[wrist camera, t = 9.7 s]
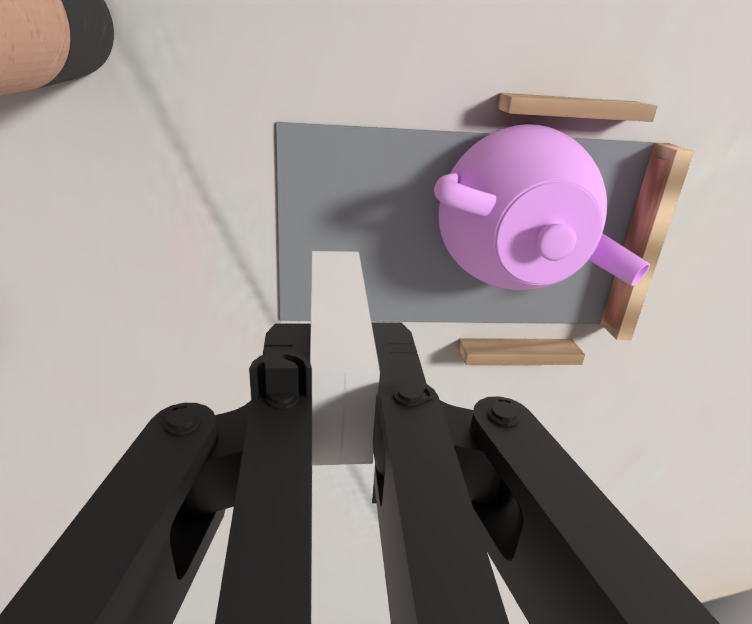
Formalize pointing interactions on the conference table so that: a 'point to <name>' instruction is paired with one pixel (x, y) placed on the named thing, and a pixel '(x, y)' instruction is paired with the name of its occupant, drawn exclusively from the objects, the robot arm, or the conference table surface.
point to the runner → (420, 225)
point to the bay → (641, 240)
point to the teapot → (529, 211)
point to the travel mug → (51, 41)
